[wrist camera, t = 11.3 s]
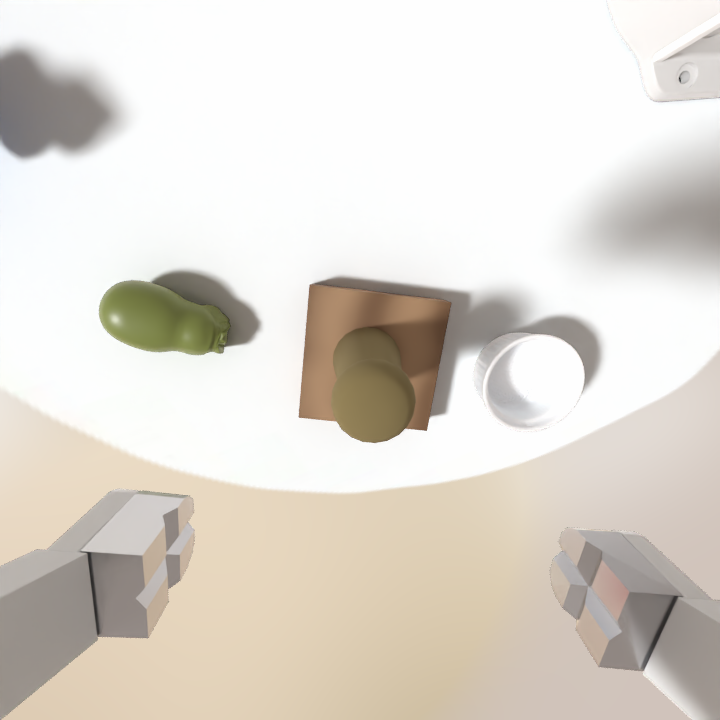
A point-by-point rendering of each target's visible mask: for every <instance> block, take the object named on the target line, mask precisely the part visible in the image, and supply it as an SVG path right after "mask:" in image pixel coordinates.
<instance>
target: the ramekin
mask: <svg viewBox="0 0 720 720" xmlns="http://www.w3.org/2000/svg"><path fill="white" fill-rule="evenodd" d="M473 381H474V386H475V389H476V391H477V393H478V395H479V397H480V399H481V400H482V401H483V402H484V404H485V407H486V409H487V411H488V412H489V414H490V415H491V416H492V418H493V419H494V420H495V421H497V422H498V423H499V424H501V425H502V426H504V427H506V428H508V429H511V430H514V431H519V432H534V431H539V430H543V429H546V428H548V427H551V426H553V425H554V424H556V423H558V422H559V421H561V420H562V419H563V418H565V417H566V416H567V415H568V414H569V413H570V412H571V410H572V409H573V408H574V407H575V405H576V404H577V402H578V401H579V398H580V396H581V394H582V391H583V388H584V382H585V369H584V365H583V362H582V360H581V357H580V356H579V354H578V353H577V351H576V350H575V349H574V348H573V347H572V346H571V345H570V344H569V343H567V342H566V341H564V340H563V339H561V338H558V337H555V336H552V335H547V334H530V333H524V332H514V333H508V334H504V335H502V336H500V337H497V338H496V339H494V340H492V341H491V342H490V343H489V344H487V346H486V347H485V348H484V349H483V350H482V351H481V352H480V354H479V356H478V358H477V360H476V362H475V366H474V371H473Z"/></svg>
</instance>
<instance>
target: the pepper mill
mask: <svg viewBox="0 0 720 720" xmlns="http://www.w3.org/2000/svg"><path fill="white" fill-rule="evenodd" d="M333 366H334V370H335V374H336V378H337V380H336V383H335V385H334V387H333V390H332V398H331V407H332V411H333V415H334V418H335V419H336V421H337V423H338V424H339V426H340V427H341V429H342V430H343V431H344V432H346V433H347V434H348V435H349V436H351V437H352V438H355V439H357V440H360V441H362V442H371V443H377V442H383V441H388V440H390V439H392V438H393V437H395V436H397V435H399V434H400V433H401V432H402V431H403V430H404V429H405V428H406V427H407V426H408V425H409V423H410V421H411V419H412V417H413V415H414V409H415V403H416V397H415V391H414V387H413V385H412V383H411V382H410V380H409V378H408V376H407V374H406V373H405V372H404V371H402V368H401V356H400V350H399V348H398V346H397V344H396V342H395V340H394V339H393V338H392V337H391V336H390V335H388V334H387V333H386V332H384V331H382V330H379V329H377V328H370V327H363V328H358V329H354V330H353V331H351V332H349V333H347V334H345V335H344V337H343V338H342V339H341V340H340V341H339V342H338V344H337V346H336V348H335V350H334V354H333Z"/></svg>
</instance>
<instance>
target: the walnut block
mask: <svg viewBox="0 0 720 720" xmlns="http://www.w3.org/2000/svg"><path fill="white" fill-rule="evenodd" d="M450 307H451V302H448V301H445V300H441V299H433V298H425V297H417V296H409V295H401V294H393V293H384V292H376V291H368V290H360V289H352V288H344V287H336V286H328V285H320V284H311V285H310V287H309V299H308V311H307V323H306V335H305V347H304V359H303V371H302V383H301V395H300V408H299V418H308V419H318V420H328V421H336V419H335V418H334V415H333V411H332V407H331V398H332V390H333V387H334V385H335V383H336V380H337V378H336V374H335V370H334V366H333V354H334V350H335V348H336V346H337V344H338V342H339V341H340V340H341V339H342V338H343V337H344V335H345V334H347V333H349V332H351V331H353V330H354V329H358V328H363V327H370V328H377V329H379V330H382V331H384V332H386V333H387V334H388V335H390V336H391V337H392V338H393V339H394V340H395V342H396V344H397V346H398V348H399V350H400V356H401V368H402V371H404V372H405V373H406V374H407V376H408V378H409V380H410V382H411V383H412V385H413V387H414V391H415V397H416V403H415V409H414V415H413V417H412V419H411V421H410V423H409V425H408V426H407V427H406V429H415V430H425V431H427V427H428V422H429V417H430V411H431V406H432V401H433V396H434V390H435V385H436V380H437V375H438V370H439V364H440V359H441V354H442V349H443V343H444V338H445V333H446V328H447V322H448V317H449V312H450Z"/></svg>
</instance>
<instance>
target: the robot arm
mask: <svg viewBox="0 0 720 720" xmlns="http://www.w3.org/2000/svg"><path fill="white" fill-rule="evenodd" d="M607 5H608V9H609V12H610V15H611V18H612V21H613V23H614V25H615V28H616V29H617V31H618V33H619V35H620V36H621V38H622V40H623V41H624V42H625V44H626V45H627V46H628V47H629V49H630V50H631V51H632V53H633V54H634V56H635V57H636V59H637V61H638V64H639V69H640V74H641V78H642V82H643V86H644V89H645V92H646V94H647V96H648V97H649V98H650V99H651V100H653V101H656V102H664V101H677V100H691V99H705V98H719V97H720V0H607ZM679 77H680V78H681V83H680V82H679ZM193 513H194V504H193V498H191V497H190V496H188V495H179V494H169V493H160V492H150V491H138V490H128V489H115V490H112V491H110V492H109V493H108V494H107V495H106V496H104V497H103V498H102V499H101V500H100V501H99V502H98V503H97V504H96V505H95V506H93V507H92V509H90V510H89V511H88V512H87V513H86V514H85V515H84V516H83V517H81V518H80V519H79V520H78V521H77V522H76V523H75V524H74V525H73V526H72V527H71V528H69V530H67V531H66V532H65V533H64V534H63V535H62V536H61V537H60V538H59V539H57V541H55V542H54V543H53V544H52V545H51V546H50V547H49V548H48V549H47V550H40V549H37V550H34V551H33V552H30V553H28V554H26V555H23V556H21V557H19V558H17V559H15V560H12V561H11V562H8V563H6V564H4V565H1V566H0V720H1V719H2V718H4V717H5V716H6V715H7V714H9V713H10V712H11V711H12V710H13V709H15V708H16V707H17V706H18V705H19V704H21V703H22V702H23V701H24V700H25V699H27V698H28V697H29V696H30V695H32V694H33V693H34V692H35V691H36V690H38V689H39V688H40V687H41V686H42V685H44V684H45V683H46V682H47V681H48V680H50V679H51V678H52V677H53V676H55V675H56V674H57V673H58V672H59V671H60V670H62V669H63V668H64V667H65V666H67V665H68V664H69V663H70V662H72V661H73V660H74V659H75V658H76V657H78V656H79V655H80V654H81V653H83V652H84V651H85V650H86V649H87V648H89V647H90V646H91V645H92V644H93V643H95V642H96V641H97V640H98V637H126V638H149V636H150V634H151V632H152V631H153V629H154V627H155V625H156V624H157V622H158V620H159V618H160V616H161V615H162V613H163V611H164V609H165V608H166V606H167V604H168V602H169V601H168V589H169V588H171V587H172V586H173V585H175V584H176V583H178V582H179V581H180V580H181V578H182V576H183V575H184V572H185V571H186V569H187V567H188V564H189V561H190V558H191V555H192V552H193V546H194V529H193V528H192V526H191V525H190V524H189V523H188V521H189V519H190V518H191V516H192V515H193ZM559 544H560V546H561V548H562V551H561V552H560V553H559V554H558V555H556V556H555V557H554V558H553V560H552V564H551V568H550V578H551V585H552V588H553V591H554V594H555V596H556V598H557V600H558V601H559V603H560V605H561V606H562V608H563V609H564V610H566V611H567V612H568V613H569V614H571V615H572V616H573V617H574V618H575V619H576V631H577V633H578V634H579V636H580V638H581V639H582V641H583V642H584V644H585V646H586V647H587V649H588V651H589V652H590V654H591V656H592V657H593V659H594V660H595V662H596V663H597V665H598V667H604V668H615V669H625V670H635V671H644V672H643V675H644V676H645V677H647V679H649V680H650V681H651V682H652V683H653V684H654V685H655V686H656V687H657V688H658V689H659V690H660V691H662V692H663V693H664V694H665V695H666V696H667V697H668V698H669V699H670V700H671V701H672V702H673V703H674V704H676V705H677V706H678V707H679V708H680V709H681V710H682V711H683V712H684V713H685V714H686V715H687V716H688V717H689V718H690V719H691V720H720V600H713V599H711V598H710V597H709V596H708V595H707V594H706V593H705V592H704V591H703V590H702V589H701V588H700V587H698V586H697V585H696V584H695V583H694V582H693V581H692V580H691V579H690V578H689V577H688V576H687V575H685V574H684V573H683V572H682V571H681V570H680V569H679V568H678V567H677V566H676V565H675V564H674V563H673V562H671V561H670V560H669V559H668V558H667V557H666V556H665V555H664V554H663V553H662V552H661V551H659V550H658V549H657V548H656V547H655V546H654V545H653V544H652V543H651V542H649V540H648V539H647V538H645V537H644V536H643V535H641V534H639V533H637V532H634V531H619V530H611V531H607V530H596V529H582V528H570V527H567V528H566V529H565V530H564V531H563V532H562V533H561V536H560V539H559Z"/></svg>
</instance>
